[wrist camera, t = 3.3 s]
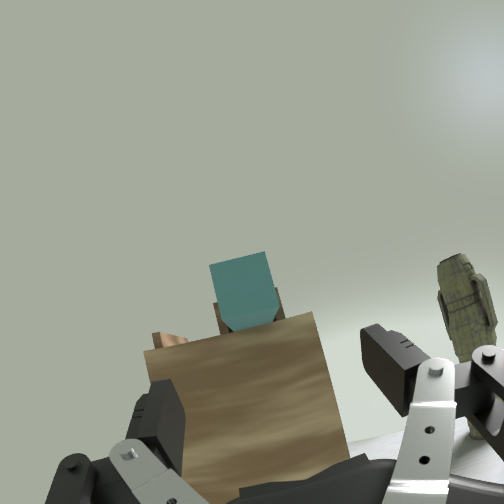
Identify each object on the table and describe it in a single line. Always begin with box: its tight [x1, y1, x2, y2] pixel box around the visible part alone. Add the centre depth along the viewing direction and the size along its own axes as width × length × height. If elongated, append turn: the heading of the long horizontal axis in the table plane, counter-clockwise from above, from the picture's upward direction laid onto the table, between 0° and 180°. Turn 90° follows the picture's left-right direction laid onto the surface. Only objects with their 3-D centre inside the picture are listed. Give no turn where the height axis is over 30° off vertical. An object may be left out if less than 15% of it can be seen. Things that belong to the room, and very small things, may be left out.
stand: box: [144, 288, 350, 504], centre depth 29 cm, size 12×16×35 cm
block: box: [209, 252, 280, 332], centre depth 31 cm, size 24×4×4 cm, turn 179°
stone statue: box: [437, 253, 504, 440], centre depth 45 cm, size 9×12×35 cm
